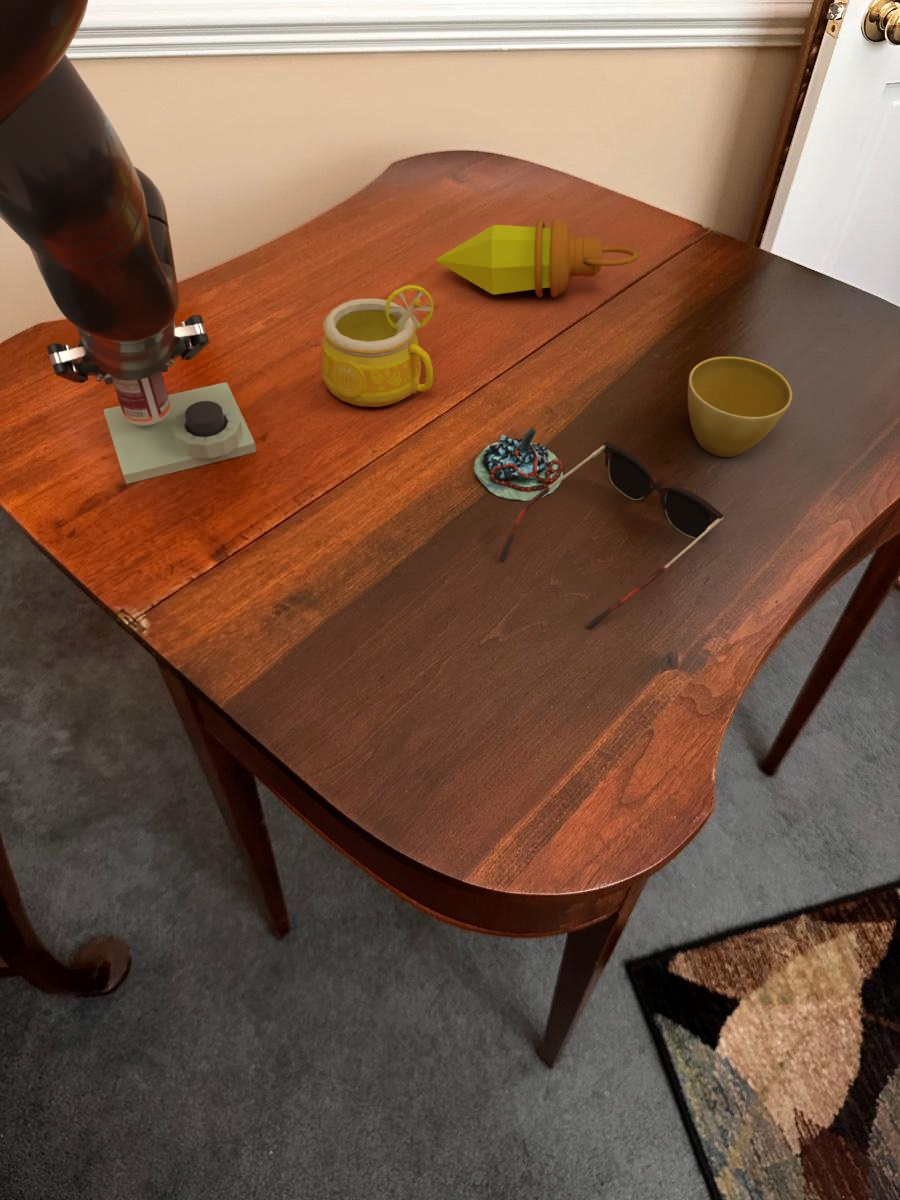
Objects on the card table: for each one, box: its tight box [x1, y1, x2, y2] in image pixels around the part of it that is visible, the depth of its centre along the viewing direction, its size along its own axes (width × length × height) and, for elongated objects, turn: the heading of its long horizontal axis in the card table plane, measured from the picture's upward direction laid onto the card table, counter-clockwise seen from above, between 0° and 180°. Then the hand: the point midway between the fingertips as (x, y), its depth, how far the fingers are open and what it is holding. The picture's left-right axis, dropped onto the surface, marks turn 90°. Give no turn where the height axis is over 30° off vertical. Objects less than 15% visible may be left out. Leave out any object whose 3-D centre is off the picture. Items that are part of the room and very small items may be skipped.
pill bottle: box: [111, 370, 171, 426], centre depth 85 cm, size 5×5×8 cm
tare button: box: [185, 401, 225, 437], centre depth 86 cm, size 4×4×2 cm
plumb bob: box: [434, 216, 639, 298], centre depth 107 cm, size 9×9×25 cm
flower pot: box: [687, 356, 793, 458], centre depth 89 cm, size 10×10×7 cm
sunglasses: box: [499, 441, 725, 630], centre depth 79 cm, size 14×16×5 cm
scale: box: [102, 381, 257, 485], centre depth 88 cm, size 13×12×3 cm
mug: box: [321, 284, 435, 408], centre depth 91 cm, size 13×11×12 cm
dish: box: [473, 427, 564, 502], centre depth 87 cm, size 8×7×8 cm
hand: (134, 367), depth 86 cm, fingers closed on pill bottle, 4 cm apart
